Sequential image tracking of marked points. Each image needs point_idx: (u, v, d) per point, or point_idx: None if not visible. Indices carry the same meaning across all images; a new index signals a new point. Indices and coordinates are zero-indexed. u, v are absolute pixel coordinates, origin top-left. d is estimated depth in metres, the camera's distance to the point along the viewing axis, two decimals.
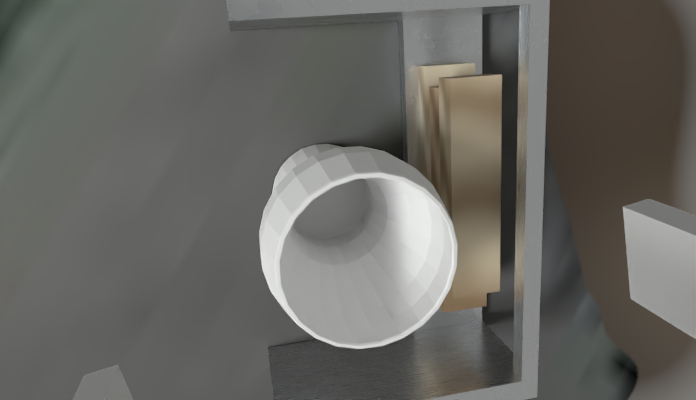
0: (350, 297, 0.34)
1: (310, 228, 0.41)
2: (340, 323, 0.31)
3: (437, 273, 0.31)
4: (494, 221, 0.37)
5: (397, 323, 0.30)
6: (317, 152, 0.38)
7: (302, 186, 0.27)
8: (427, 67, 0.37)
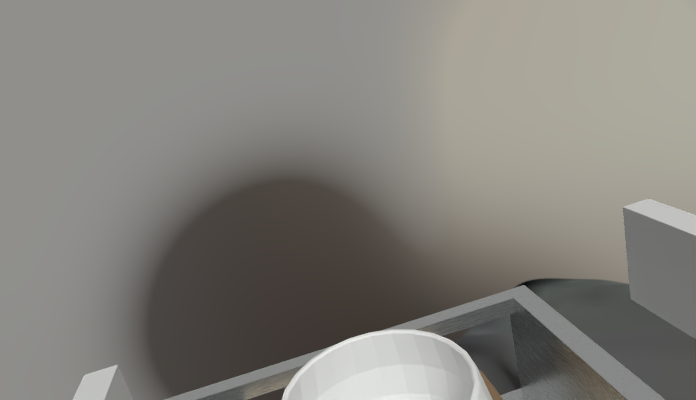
0: None
1: None
2: None
3: (402, 363, 0.30)
4: None
5: (456, 366, 0.28)
6: None
7: None
8: None
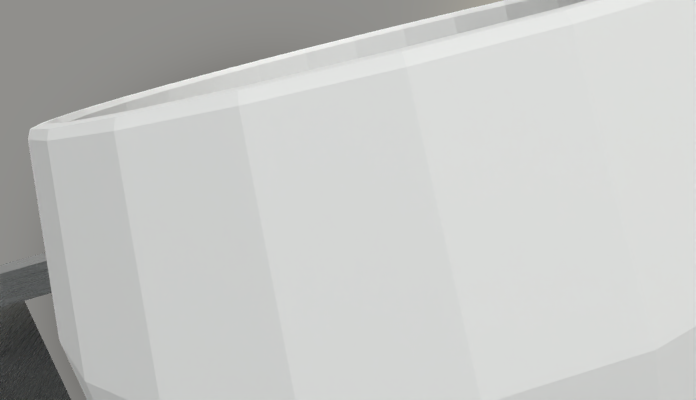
0: None
1: None
2: None
3: None
4: None
5: None
6: None
7: (68, 257, 0.05)
8: None
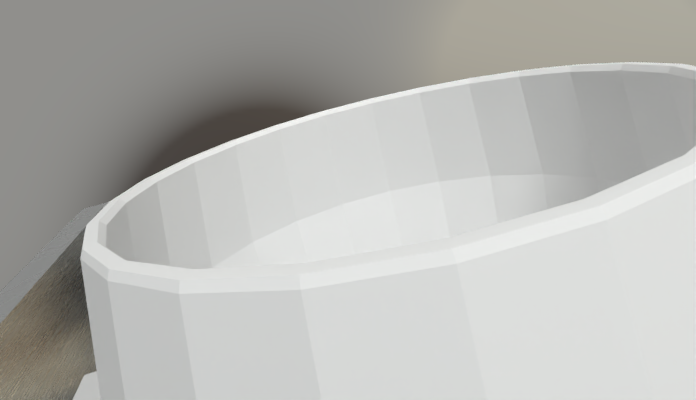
0: None
1: None
2: None
3: (440, 177, 0.14)
4: None
5: (583, 143, 0.11)
6: None
7: (127, 385, 0.06)
8: None
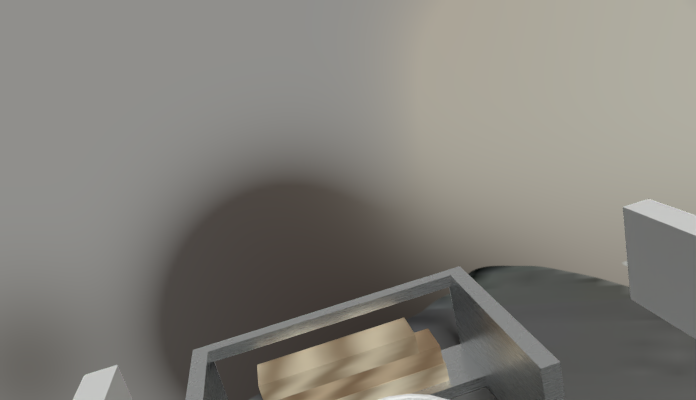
0: None
1: None
2: None
3: None
4: (354, 336, 0.52)
5: None
6: None
7: None
8: None
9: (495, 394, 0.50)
